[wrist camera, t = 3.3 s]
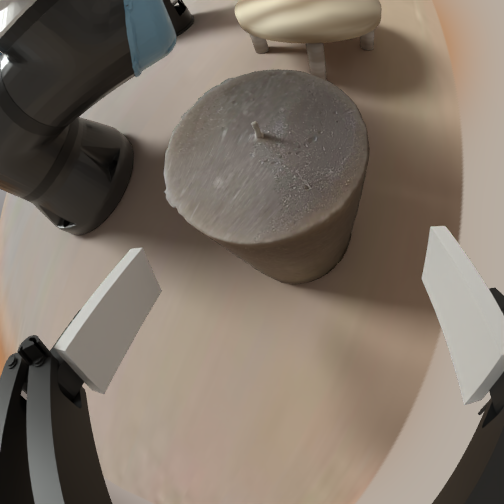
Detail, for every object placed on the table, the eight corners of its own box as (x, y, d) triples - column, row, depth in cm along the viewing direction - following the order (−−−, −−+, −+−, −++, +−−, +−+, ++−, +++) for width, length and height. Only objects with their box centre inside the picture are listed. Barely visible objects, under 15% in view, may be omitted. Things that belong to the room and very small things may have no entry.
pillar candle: (372, 234, 22) (424, 127, 8) (285, 307, 23) (220, 296, 9) (301, 160, 26) (268, 30, 11) (221, 224, 26) (120, 136, 12)
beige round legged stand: (227, 55, 32) (207, 13, 24) (308, 9, 31) (301, -29, 23) (321, 107, 26) (315, 51, 19) (401, 49, 25) (406, 4, 18)
